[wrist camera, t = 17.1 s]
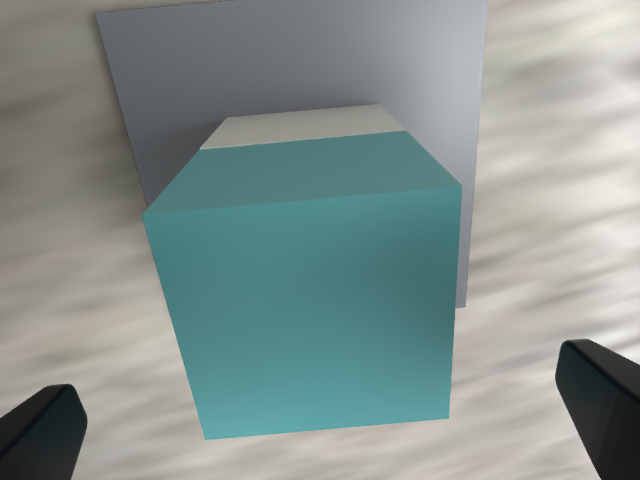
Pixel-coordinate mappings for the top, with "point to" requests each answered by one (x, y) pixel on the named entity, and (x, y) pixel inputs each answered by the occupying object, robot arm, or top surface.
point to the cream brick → (302, 126)
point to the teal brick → (311, 282)
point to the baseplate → (299, 76)
